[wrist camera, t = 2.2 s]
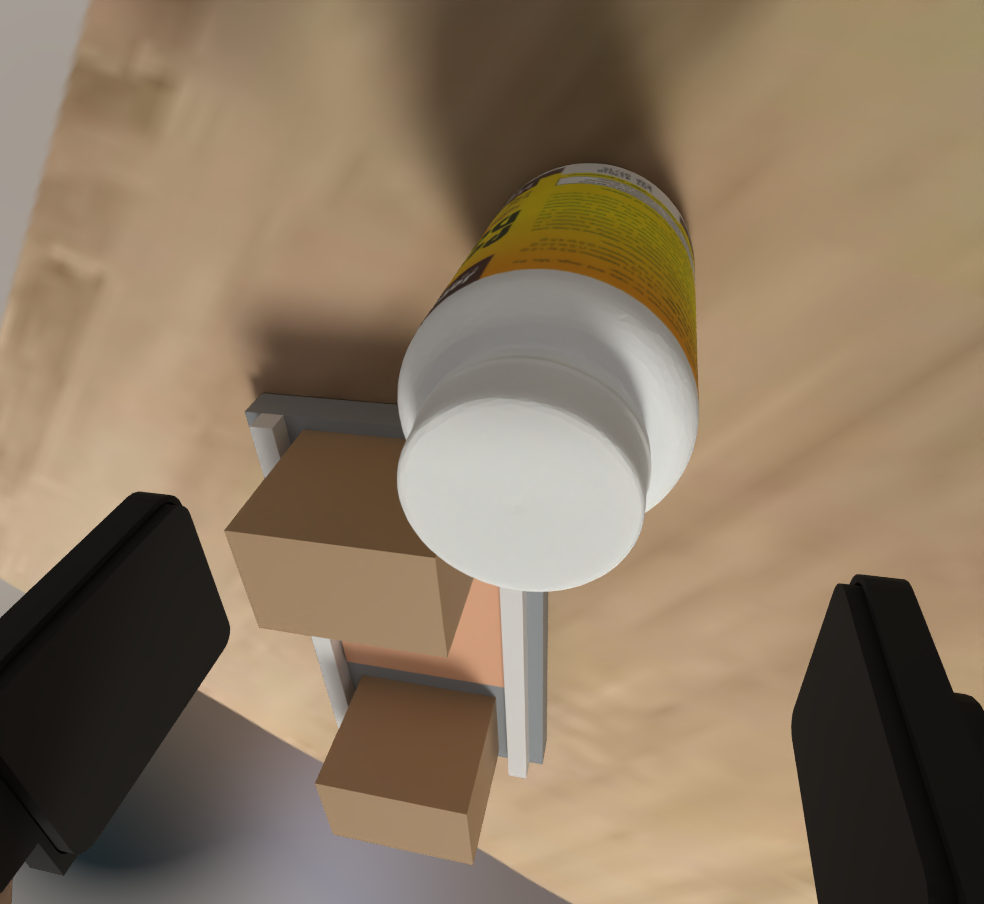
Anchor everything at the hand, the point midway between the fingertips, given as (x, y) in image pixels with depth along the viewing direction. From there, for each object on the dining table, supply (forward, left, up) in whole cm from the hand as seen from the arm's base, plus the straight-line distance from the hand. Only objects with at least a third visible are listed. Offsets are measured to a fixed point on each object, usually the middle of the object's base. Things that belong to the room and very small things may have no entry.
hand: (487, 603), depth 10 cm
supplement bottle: (-1, 0, -12) cm, 12 cm away
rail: (+13, -6, -12) cm, 19 cm away
